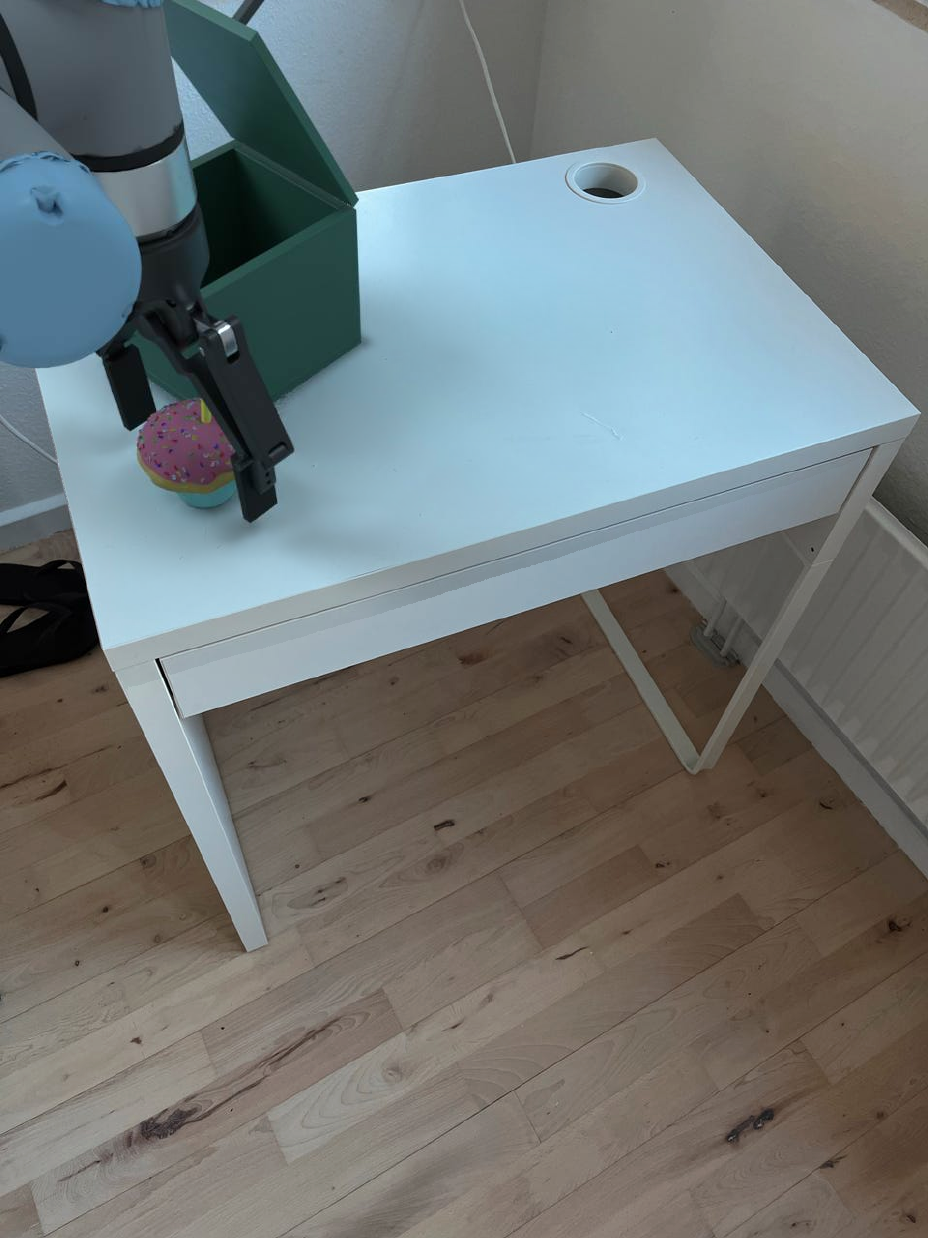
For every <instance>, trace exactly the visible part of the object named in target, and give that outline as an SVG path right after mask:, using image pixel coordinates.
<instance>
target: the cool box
mask: <svg viewBox="0 0 928 1238" xmlns="http://www.w3.org/2000/svg"><path fill="white" fill-rule="evenodd" d="M190 160H191V165H192V170H193V175H194V180H195V185H196V190H197V199H196V200H197V201H198V203H199V205H200V207H201V211H202V216H203V221H204V227H205V232H206V237H207V242H208V248H209V254H210V258H209V264H208V267H207V270H206V272H205V274H204V277H203V280H202V282H201V286H200V292H201V294H202V297H203V299H204V301H205V303H206V305H207V307H208V310H209V313H210V315H211V316H213V317H215V318H217V319H219V320H221V321H222V320H224V319H225V318H227V317H229V316H230V315H235V316H236V317H237V318H238V319H239V320H240V321H241V323H242V325H243V328H244V332H245V336H246V340H247V344H248V348H249V352H250V354H251V356H252V358H253V360H254V362H255V365H256V367H257V369H258V371H259V373H260V375H261V377H262V380H263V382H264V384H265V386H266V388H267V390H268V393H269V395H270V397H271V399H272V401H273V403H275V402H276V401H278V400H279V399H281V398H282V397H283V396H285V395H287V394H288V393H289V392H291V391H292V390H294V389H296V388H297V387H299V386H300V385H301V384H303V383H304V382H306V381H307V380H309V379H311V378H312V377H313V376H315V375H316V374H317V373H319V372H320V371H322V370H323V369H325V368H327V367H328V366H329V365H330V364H332V363H334V362H335V361H336V360H338V359H340V358H341V357H343V356H344V355H346V354H347V353H348V352H350V351H351V350H353V349H354V348H355V347H357V346H359V345H360V344H362V326H361V325H362V324H361V323H362V322H361V298H360V297H361V296H360V295H361V293H360V270H359V268H360V267H359V266H360V265H359V244H358V243H359V240H358V215H357V209H356V208H355V207H351V206H350V205H348V204H346V203H344V202H343V201H341V200H339V199H337V198H336V197H334V196H332V195H331V194H329V193H327V192H325V191H324V190H322V189H320V188H318V187H317V186H315V185H313V184H312V183H310V182H308V181H306V180H305V179H303V178H301V177H299V176H298V175H296V174H294V173H292V172H291V171H289V170H287V169H286V168H284V167H282V166H280V165H279V164H277V163H275V162H273V161H272V160H270V159H268V158H266V157H265V156H263V155H261V154H260V153H258V152H256V151H254V150H253V149H251V148H249V147H247V146H246V145H244V144H242V143H241V142H239V141H237V140H235V139H234V138H233V139H232V140H230V141H228V142H227V143H223V144H221V145H220V146H218V147H216V148H214V149H212V150H209V151H207V152H206V153H204V154H202V155H199V156H198V157H196V158H193V159H190ZM134 335H137V336H136V337H134V338H132V339H131V340H129V341H127V342H126V343H124V346H125V347H127V346H129V345H130V344H133V345H135V346H136V347H138V348H139V351H140V354H141V358H142V361H143V365H144V368H145V372H146V375H147V379H148V380H150V381H152V382H153V383H154V384H156V385H157V386H158V387H160V388H161V389H163V390H164V391H165V392H166V393H168V394H169V395H170V396H172V397H173V398H175V399H176V400H177V401H178V402H179V401H183V400H188V399H194V398H198V399H199V398H201V397H200V395H199V394H198V392H197V391H196V389H195V388H194V386H193V384H192V383H191V381H190V380H189V378H188V377H187V376H181V375H179V374H177V372H176V371H175V370H174V368H173V367H172V365H171V364H170V362H169V360H168V359H167V357H166V356H165V354H164V353H163V351H162V350H161V349H160V348H159V347H158V346H157V345H156V344H155V343H154V342H152V341H149V340H147V339H145V338H144V337H143V336H141V335H140V334H139V332H138V330H136V331H135V333H134ZM201 346H202V345H201V342H200V339H199V340H198V342H197V343H196V344H195V345H193V346H192V347H190V348H189V349H187V350H185V351H184V352H182V355H183V356H184V357H185V358H186V359H188V358H190V357H192V356H193V355H195V354H196V353H198V352H200V351H199V347H201Z"/></svg>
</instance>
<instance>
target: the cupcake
mask: <svg viewBox="0 0 928 1238" xmlns="http://www.w3.org/2000/svg"><path fill="white" fill-rule="evenodd" d="M150 416H151V417H149V418H147V419H148V420H147V421H146V422H144V425H143V426H142V428H140V429H139V431H138V437H137V438H136V458H137V461H138V463H139V465H140V467H141V468H142V470H143V471H144V472H145V473H146V475H147V476H148V477H149V479H150V481H151V482H152V483H153V485H155V486H157V487H159V488H160V489H163V490H164V491H165V490H166V491H168V492H173V493H175V495H176V496H177V497H178V498H179V499H180V500H181V501H182V502H183V503H185V504H187V505H188V506H191V507H195V508H206V509H207V508H212V507H213V508H214V507H216V506H219V505H221V504H224V503H226V502H227V501H228V500H229V499H231V498H232V497H233V496H234V494H235V493H236V492H237V486H236V481H235V477H234V472H233V467H232V465H231V464H232V463H231V458H230V456H231V455H232V454H234V453H235V450H234V448H233V447H232V445H231V444H230V442H229V441H228V439H227V437H226V436H225V434H224V433H223V431H222V430H221V428H220V427H219V425H218V423H217V422H216V420H215V419H214V417H213V416H212V414H211V413H210V411H209V409H208V408H207V406H206V405H205V403H204V402H203V400H202V398H199V399H198V398H194V399H188V400H183V401H179V400H178V401H177V402H174V403H168V405H166V404H165V405H164V406H163V407H162V408H160V409H159V410H157V412H155V413H153V414H151V415H150Z"/></svg>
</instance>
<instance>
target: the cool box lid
mask: <svg viewBox="0 0 928 1238" xmlns="http://www.w3.org/2000/svg"><path fill="white" fill-rule="evenodd" d="M264 2H265V0H243V1H242V2H241V4H240V6H238V8H237V10H236V11H235V13H234V14H233V15H232V16H229V15H227V14H224V13H223V12H221V11H219V10H217V9H215V8H213V7H211V6H210V5H208V4H206V3H203V2H202V1H199V0H164V1H163V3H162V6H163V12H164V17H165V23H166V29H167V35H168V41H169V46H170V52H171V58H172V60H173V61H174V62H175V63H176V64H177V66H178V67H179V69H180V70H181V71H182V73H183V74H184V76H185V77H186V78H187V80H189V82H190V83H191V85H192V86H193V88H194V89H195V90H196V91H197V93H198V94H199V96H200V97H201V98H202V100H203V101H204V102H205V104H206V105H207V106H208V108H209V109H210V111H211V112H212V114H213V115H214V116H215V117H216V118H217V121H218V122H219V123H220V124H221V125H222V127H223V128H224V129H225V131H226V132H227V134H229V136H230V137H231V138H232V139H233V140H234V139H235V140H237V141H239V142H241V143H242V144H244V145H246V146H247V147H249V148H251V149H253V150H254V151H256V152H258V153H260V154H261V155H263V156H265V157H266V158H268V159H270V160H272V161H273V162H275V163H277V164H279V165H280V166H282V167H284V168H286V169H287V170H289V171H291V172H292V173H294V174H296V175H298V176H299V177H301V178H303V179H305V180H306V181H308V182H310V183H311V184H313V185H315V186H317V187H318V188H320V189H322V190H324V191H325V192H327V193H329V194H331V195H332V196H334V197H336V198H337V199H339V200H341V201H343V202H344V203H346V204H347V205H349V206H351V207H353V208H355V206H356V205H357V203H358V202H359V201H360V199H359V197H358V195H357V193H356V192H355V190H354V189H353V187H352V185H351V184H350V182H349V180H348V179H347V177H346V175H345V173H344V172H343V171H342V169H341V167H340V164H338V162H337V160H336V159H335V157H334V155H333V153H332V152H331V150H330V149H329V147H328V146H327V144H326V142H325V141H324V139H323V137H322V136H321V134H320V132H319V131H318V129H317V127H316V125H315V124H314V122H313V120H312V118H311V117H310V116H309V114H308V113H307V111H306V109H305V107H304V106H303V104H302V102H301V101H300V99H299V98H298V96H297V94H296V92H295V91H294V89H293V88H292V86H291V84H290V83H289V81H288V80H287V78H286V75H285V74H284V73H283V71H282V69H281V68H280V66H279V64H278V63H277V61H276V60H275V58H274V56H273V55H272V53H271V51H270V49H269V48H268V46H267V45H266V43H265V41H264V39H263V38H262V36H261V35H260V33H259V32H258V30H256V29H254V28H252V27H250V26H249V25H248V24H249V23H250V21H251V20H252V19H253V17H254V16H255V15H256V13H257V11H258V10H259V9H260V7H261V6H262V5H263V3H264Z"/></svg>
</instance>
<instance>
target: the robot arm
mask: <svg viewBox="0 0 928 1238" xmlns="http://www.w3.org/2000/svg"><path fill="white" fill-rule="evenodd" d="M163 1H164V0H0V362H2V363H5V364H7V365H9V366H10V365H11V366H14V367H19V368H26V369H50V368H56V367H61V366H65V365H66V366H67V365H69V364H73V363H75V362H78V361H80V360H83V359H85V358H88V357H89V356H91V355H93V354H94V353H95V355H97V356H98V357H99V358H101V363H102V366H103V369H104V371H105V374H106V378H107V381H108V384H109V387H110V390H111V392H112V396H113V398H114V401H115V405H116V407H117V411H118V414H119V416H120V419H121V422H122V426H123V428H125V429H126V430H127V431H128V432H132V431H134V430H135V429H137V428H138V427H140V426H141V425H143V424H145V423H146V422H147V420H148V419H147V418H149V417H151V416H150V415H151V414H153V413H155V412H157V411H158V410H157V407H156V403H155V400H154V396H153V392H152V389H151V385H150V382H149V378H147V375H146V372H145V368H144V365H143V361H142V358H141V354H140V351H139V348H138V347H136V346H135V345H133V344H130V345H129V346H127V347H125V346H124V343H126V342H127V341H129V340H131V339H132V338H134V337H136V336H137V335H134V333H135V331H136V330H138V332H139V334H140V335H141V336H143V337H144V338H145V339H147V340H149V341H152V342H154V343H155V344H156V345H157V346H158V347H159V348H160V349H161V350H162V351H163V353H164V354H165V356H166V357H167V359H168V360H169V362H170V364H171V365H172V367H173V368H174V370H175V371H176V372H177V374H179V375H181V376H187V377H188V378H189V380H190V381H191V383H192V384H193V386H194V388H195V389H196V391H197V392H198V394H199V395H200V397H201V398H202V400H203V402H204V403H205V405H206V406H207V408H208V409H209V411H210V413H211V414H212V416H213V417H214V419H215V420H216V422H217V423H218V425H219V427H220V428H221V430H222V431H223V433H224V434H225V436H226V437H227V439H228V441H229V442H230V444H231V445H232V447H233V448H234V450H235V453H234V454H232V455H231V456H230V458H231V463H232V464H231V465H232V467H233V472H234V477H235V481H236V486H237V488H236V492H237V495H238V499H239V505H240V509H241V512H242V514H241V515H242V518H243V519H244V520H245V521H246V522H247V523H248V524H250V525H251V524H252V523H254V522H255V521H256V520H258V519H259V518H261V516H264V514H265V513H267V512H268V511H269V510H271V509H272V508H273V507H274V506H276V505H277V504H278V496H277V491H276V484H277V475H276V466H277V465H279V464H280V463H281V462H283V461H285V459H286V458H288V457H289V456H291V455H292V454H294V453H295V446H294V444H293V442H292V440H291V438H290V436H289V433H288V431H287V429H286V427H285V425H284V423H283V421H282V419H281V418H282V417H281V416H280V414H279V412H278V410H277V407H276V405H275V402H273V401H272V399H271V397H270V395H269V393H268V390H267V388H266V386H265V384H264V382H263V380H262V377H261V375H260V373H259V371H258V369H257V367H256V365H255V362H254V360H253V358H252V356H251V354H250V352H249V348H248V344H247V340H246V336H245V332H244V328H243V325H242V323H241V321H240V320H239V319H238V318H237V317H236V316H235V315H230V316H229V317H227V318H225V319H224V320H222V321H221V320H219V319H217V318H215V317H213V316H211V315H210V313H209V310H208V307H207V305H206V303H205V301H204V299H203V297H202V294H201V292H200V286H201V282H202V280H203V277H204V274H205V272H206V270H207V267H208V264H209V258H210V254H209V248H208V242H207V237H206V232H205V227H204V221H203V216H202V211H201V207H200V205H199V203H198V201H197V200H196V199H197V190H196V185H195V180H194V175H193V170H192V165H191V160H192V159H191V156H190V151H189V146H188V141H187V134H186V128H185V122H184V116H183V113H182V112H183V111H182V108H181V105H180V104H181V103H180V98H179V93H178V87H177V83H176V82H177V81H176V77H175V70H174V64H173V58H172V56H171V52H170V46H169V41H168V35H167V29H166V23H165V17H164V12H163V6H162V3H163ZM199 339H200V342H201V345H202V346H201V347H199V351H200V352H198V353H196V354H195V355H193V356H192V357H190V358H188V359H186V358H185V357H184V356H183V355H182V352H184V351H185V350H187V349H189V348H190V347H192V346H193V345H195V344H196V343H197V342H198V340H199Z"/></svg>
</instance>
